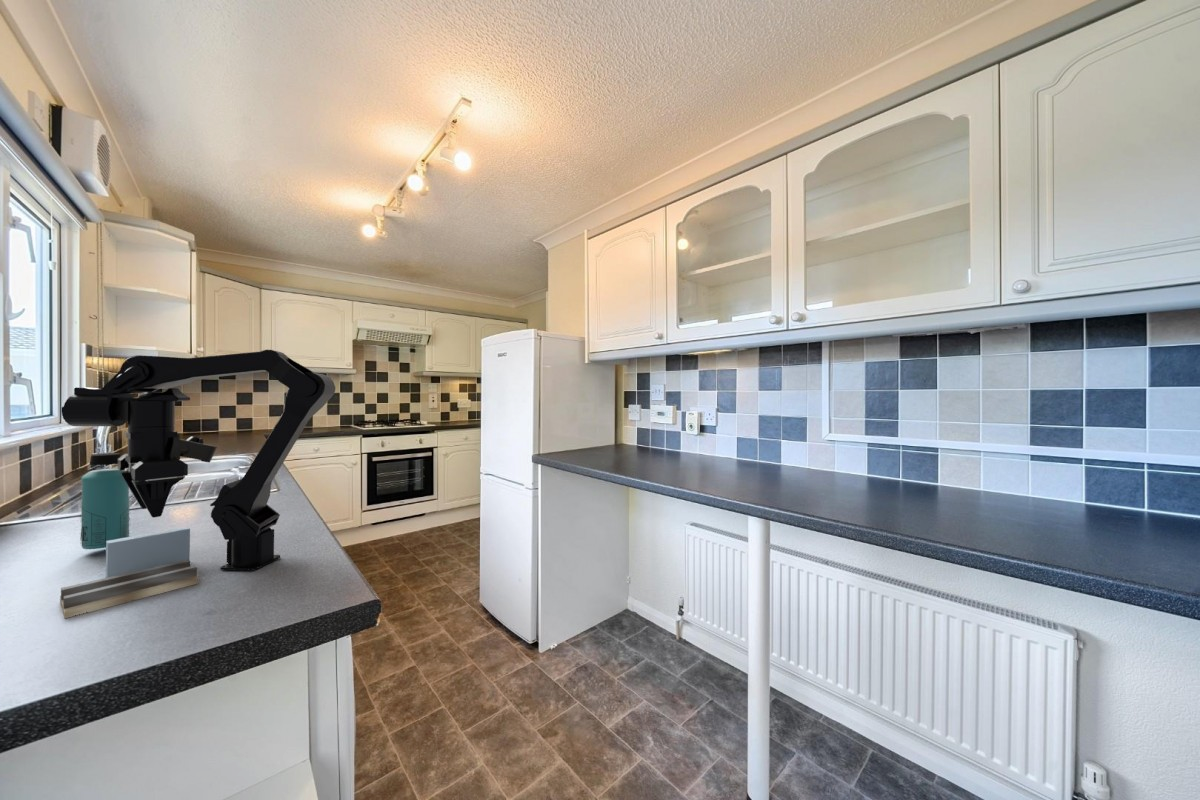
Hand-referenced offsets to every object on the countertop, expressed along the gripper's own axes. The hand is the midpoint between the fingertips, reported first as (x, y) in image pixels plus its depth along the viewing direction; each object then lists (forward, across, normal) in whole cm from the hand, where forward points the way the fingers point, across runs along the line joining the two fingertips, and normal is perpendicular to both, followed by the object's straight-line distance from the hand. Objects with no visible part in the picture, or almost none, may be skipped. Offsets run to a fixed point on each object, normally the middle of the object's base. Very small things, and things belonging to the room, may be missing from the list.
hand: (151, 512), depth 74 cm
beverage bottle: (+11, +21, +3) cm, 24 cm away
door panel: (+11, 0, 0) cm, 11 cm away
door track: (+11, -8, +3) cm, 14 cm away
